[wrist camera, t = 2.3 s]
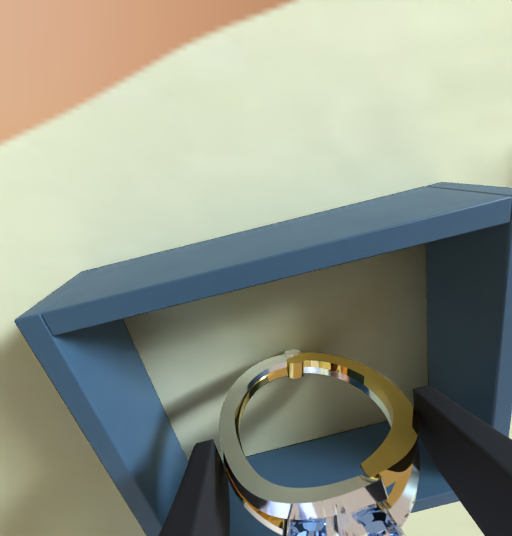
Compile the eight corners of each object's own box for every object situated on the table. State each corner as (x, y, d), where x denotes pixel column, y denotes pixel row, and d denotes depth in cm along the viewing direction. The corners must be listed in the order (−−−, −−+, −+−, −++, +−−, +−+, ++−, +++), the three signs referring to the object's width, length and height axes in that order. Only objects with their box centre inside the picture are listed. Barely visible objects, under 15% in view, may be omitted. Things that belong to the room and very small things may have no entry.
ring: (224, 389, 15) (220, 624, 7) (218, 335, 14) (206, 546, 6) (356, 375, 15) (482, 582, 8) (361, 322, 14) (513, 503, 7)
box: (182, 482, 17) (169, 574, 13) (80, 271, 12) (12, 320, 8) (441, 417, 17) (503, 490, 13) (442, 181, 12) (540, 189, 8)
